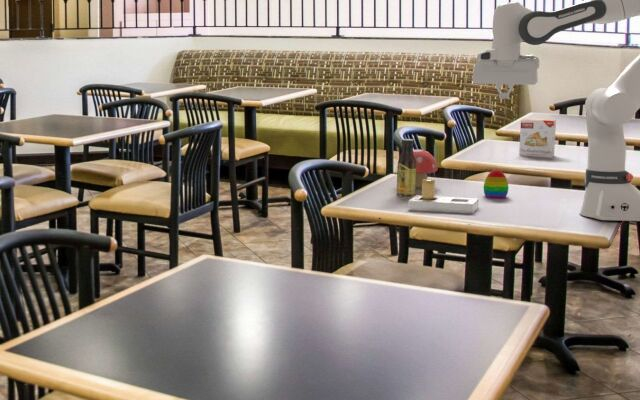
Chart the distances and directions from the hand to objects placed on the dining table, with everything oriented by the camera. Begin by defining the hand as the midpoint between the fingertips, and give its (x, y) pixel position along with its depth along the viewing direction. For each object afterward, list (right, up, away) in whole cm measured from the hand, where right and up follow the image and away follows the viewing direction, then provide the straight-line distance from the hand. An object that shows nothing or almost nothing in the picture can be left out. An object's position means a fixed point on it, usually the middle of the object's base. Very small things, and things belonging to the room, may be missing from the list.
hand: (504, 98), depth 295 cm
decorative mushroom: (-24, -29, +32) cm, 50 cm away
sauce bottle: (-29, -32, +19) cm, 47 cm away
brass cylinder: (-24, -35, -2) cm, 42 cm away
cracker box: (+34, -19, +102) cm, 109 cm away
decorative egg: (+1, -32, +18) cm, 36 cm away
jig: (-20, -35, -3) cm, 40 cm away
